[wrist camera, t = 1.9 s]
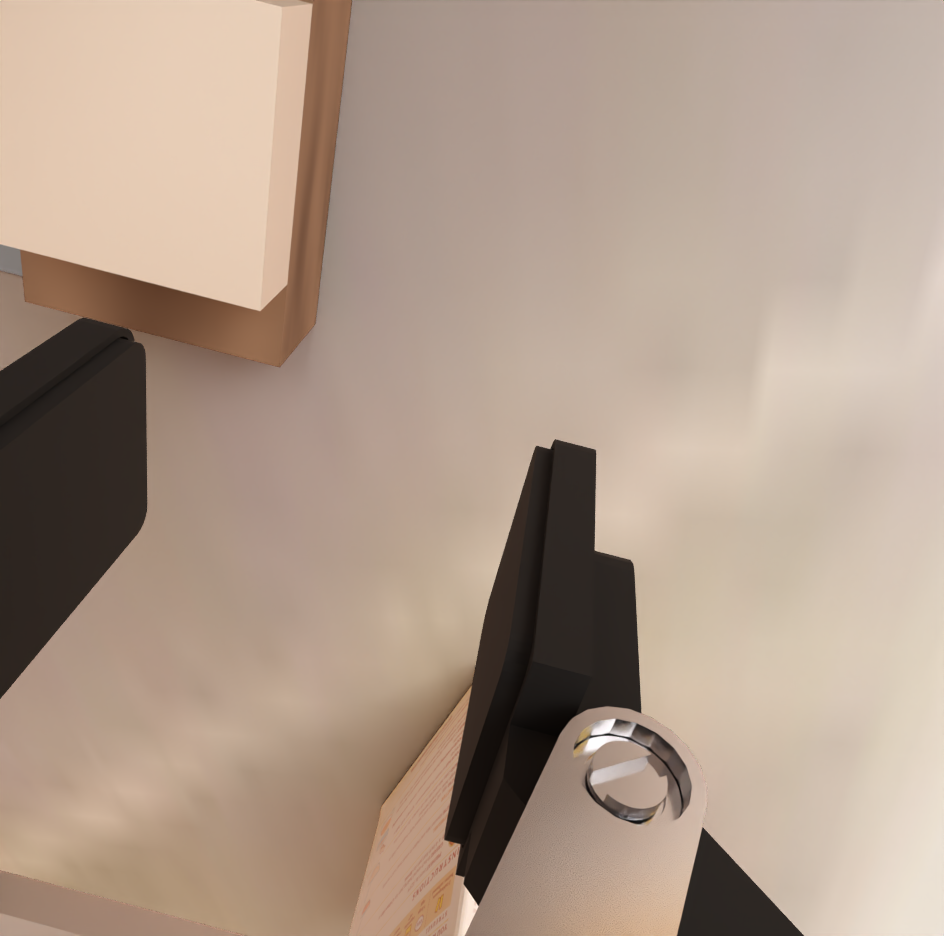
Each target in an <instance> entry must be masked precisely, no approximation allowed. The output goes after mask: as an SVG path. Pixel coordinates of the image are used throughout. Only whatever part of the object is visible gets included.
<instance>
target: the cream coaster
mask: <svg viewBox="0 0 944 936" xmlns="http://www.w3.org/2000/svg"><path fill="white" fill-rule="evenodd" d="M312 5H313V4H311V3H307V2H303V1H300V0H0V244H2V245H6V246H9V247H13V248H17V249H21V250H25V251H29V252H33V253H37V254H40V255H44V256H48V257H52V258H56V259H60V260H64V261H68V262H71V263H75V264H79V265H83V266H87V267H91V268H95V269H99V270H102V271H106V272H110V273H114V274H118V275H122V276H126V277H130V278H133V279H137V280H141V281H145V282H149V283H153V284H157V285H161V286H164V287H168V288H172V289H176V290H180V291H184V292H188V293H192V294H195V295H199V296H203V297H207V298H211V299H215V300H219V301H223V302H226V303H230V304H234V305H238V306H242V307H246V308H250V309H254V310H257V311H261V310H262V309H263V308H264V307H265V306H266V305H267V304H268V303H269V302H270V301H271V300H272V299H273V298H274V297H275V296H276V295H277V294H278V293H279V292H280V291H281V290H282V289H283V288H284V287H285V286H286V285H287V281H288V270H289V259H290V248H291V237H292V226H293V215H294V204H295V193H296V182H297V171H298V160H299V149H300V138H301V127H302V116H303V105H304V93H305V82H306V71H307V60H308V49H309V38H310V27H311V16H312Z"/></svg>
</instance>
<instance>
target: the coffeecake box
mask: <svg viewBox="0 0 944 936" xmlns="http://www.w3.org/2000/svg"><path fill="white" fill-rule="evenodd" d="M471 688H472V686H471V687H470V688H469V690H468V691H467V692H466V694H465V695H464V696H463V698H462V699H461V700H460V702H459V703H458V704H457V706H456V707H455V708H454V710H453V711H452V712H451V714H450V715H449V717H448V718H447V719H446V721H445V722H444V723H443V725H442V726H441V727H440V729H439V730H438V731H437V733H436V734H435V735H434V737H433V738H432V739H431V740H430V742H429V743H428V744H427V746H426V747H425V749H424V750H423V751H422V753H421V754H420V755H419V757H418V758H417V759H416V761H415V762H414V763H413V765H412V766H411V767H410V769H409V770H408V771H407V773H406V774H405V776H404V777H403V778H402V780H401V781H400V782H399V784H398V785H397V786H396V788H395V789H394V790H393V792H392V793H391V794H390V796H389V797H388V799H387V800H386V801H385V802H384V804H383V805H382V806H381V810H380V817H379V821H378V826H377V830H376V833H375V837H374V841H373V845H372V849H371V853H370V857H369V860H368V864H367V868H366V872H365V876H364V879H363V883H362V887H361V890H360V894H359V898H358V902H357V905H356V909H355V912H354V916H353V920H352V924H351V928H350V932H349V936H465V934H466V932H467V930H468V928H469V926H470V923H471V921H472V919H473V917H474V915H475V913H476V911H477V909H478V907H479V906H478V905H477V903H476V902H475V900H474V899H473V897H472V896H471V894H470V893H469V891H468V890H467V889H466V887H465V886H464V884H463V883H464V877H462V876H458V875H456V869H457V863H458V857H459V850H460V844H457V843H453V842H449V841H446V840H444V835H445V828H446V823H447V817H448V812H449V806H450V801H451V796H452V790H453V785H454V780H455V774H456V769H457V763H458V758H459V753H460V747H461V742H462V737H463V731H464V726H465V720H466V715H467V710H468V704H469V699H470V694H471Z"/></svg>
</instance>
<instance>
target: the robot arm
mask: <svg viewBox="0 0 944 936" xmlns="http://www.w3.org/2000/svg"><path fill="white" fill-rule="evenodd" d="M595 490H596V450H594V449H591V448H587V447H583V446H579V445H575V444H571V443H567V442H563V441H560V440H556V439H555V440H554V442H553V444H552V446H551V449H547V448H543V447H539V446H536V447H535V450H534V453H533V456H532V459H531V463H530V466H529V469H528V473H527V476H526V479H525V483H524V486H523V489H522V493H521V496H520V499H519V502H518V506H517V509H516V512H515V516H514V519H513V522H512V526H511V529H510V532H509V536H508V539H507V542H506V546H505V549H504V552H503V555H502V559H501V562H500V565H499V569H498V572H497V575H496V579H495V582H494V585H493V589H492V592H491V595H490V599H489V602H488V606H487V610H486V614H485V619H484V624H483V629H482V634H481V640H480V645H479V651H478V656H477V661H476V667H475V672H474V677H473V683H472V688H471V694H470V699H469V704H468V710H467V715H466V720H465V726H464V731H463V737H462V742H461V747H460V753H459V758H458V763H457V769H456V774H455V780H454V785H453V790H452V796H451V801H450V806H449V812H448V817H447V823H446V828H445V835H444V840H446V841H449V842H453V843H457V844H460V850H459V857H458V863H457V869H456V875H458V876H462V877H464V883H463V884H464V886H465V887H466V889H467V890H468V891H469V893H470V894H471V896H472V897H473V899H474V900H475V902H476V903H477V905H478V906H479V907H478V909H477V911H476V913H475V915H474V917H473V919H472V921H471V923H470V926H469V928H468V930H467V932H466V934H465V936H804V935H803V934H802V933H801V932H800V931H799V930H798V929H797V928H796V927H795V926H794V925H793V923H792V922H791V921H790V920H789V919H788V918H787V917H786V916H785V915H784V914H783V913H782V912H781V911H780V910H779V908H778V907H777V906H776V905H775V904H774V903H773V902H772V901H771V900H770V899H769V898H768V897H767V896H766V895H765V893H764V892H763V891H762V890H761V889H760V888H759V887H758V886H757V885H756V884H755V883H754V882H753V881H752V880H751V878H750V877H749V876H748V875H747V874H746V873H745V872H744V871H743V870H742V869H741V868H740V867H739V866H738V865H737V863H736V862H735V861H734V860H733V859H732V858H731V857H730V856H729V855H728V854H727V853H726V852H725V851H724V850H723V848H722V847H721V846H720V845H719V844H718V843H717V842H716V841H715V840H714V839H713V838H712V837H711V836H710V835H709V833H708V832H707V831H706V830H705V829H704V828H703V822H704V818H705V814H706V810H707V790H708V788H707V784H706V781H705V778H704V775H703V771H702V768H701V766H700V764H699V763H698V761H697V760H696V758H695V757H694V755H693V753H692V752H691V750H690V749H689V747H688V746H687V745H686V744H685V743H684V742H683V741H682V740H681V739H680V738H679V737H678V736H677V735H676V734H675V733H674V732H673V731H672V730H670V729H669V728H667V727H666V726H664V725H663V724H661V723H659V722H658V721H656V720H655V719H653V718H652V717H649V716H647V715H644V714H641V696H640V676H639V656H638V636H637V615H636V595H635V575H634V566H633V563H632V562H631V560H628V559H624V558H620V557H616V556H613V555H609V554H605V553H601V552H597V551H594V547H595ZM146 512H147V439H146V356H145V349H144V347H143V345H142V344H141V343H137V342H134V337H133V335H132V332H131V331H130V330H129V329H126V328H123V327H119V326H115V325H111V324H107V323H103V322H99V321H96V320H92V319H87V318H82V319H79V320H77V321H76V322H74V323H73V324H71V325H70V326H68V327H66V328H65V329H63V330H62V331H60V332H59V333H57V334H56V335H54V336H53V337H51V338H50V339H48V340H47V341H45V342H44V343H42V344H41V345H39V346H38V347H36V348H35V349H33V350H32V351H30V352H29V353H27V354H26V355H24V356H23V357H21V358H20V359H18V360H17V361H15V362H13V363H12V364H10V365H9V366H7V367H6V368H4V369H3V370H1V371H0V699H1V697H2V696H3V695H4V694H5V693H6V691H7V690H8V689H9V688H10V687H11V685H12V684H13V683H14V682H15V681H16V679H17V678H18V677H19V676H20V675H21V673H22V672H23V671H24V670H25V669H26V667H27V666H28V665H29V664H30V662H31V661H32V660H33V659H34V658H35V656H36V655H37V654H38V653H39V652H40V650H41V649H42V648H43V647H44V646H45V644H46V643H47V642H48V641H49V640H50V638H51V637H52V636H53V635H54V634H55V632H56V631H57V630H58V629H59V628H60V626H61V625H62V624H63V623H64V622H65V620H66V619H67V618H68V617H69V616H70V614H71V613H72V612H73V611H74V610H75V608H76V607H77V606H78V605H79V604H80V602H81V601H82V600H83V599H84V598H85V596H86V595H87V594H88V593H89V592H90V590H91V589H92V588H93V587H94V586H95V584H96V583H97V582H98V581H99V580H100V578H101V577H102V576H103V575H104V574H105V572H106V571H107V570H108V569H109V568H110V566H111V565H112V564H113V563H114V561H115V560H116V559H117V558H118V557H119V555H120V554H121V553H122V552H123V551H124V549H125V548H126V547H127V546H128V545H129V543H130V542H131V541H132V540H133V539H134V537H135V536H136V535H137V534H138V532H139V531H140V529H141V527H142V525H143V523H144V520H145V517H146ZM0 936H246V935H242V934H238V933H234V932H231V931H227V930H223V929H220V928H216V927H212V926H208V925H205V924H201V923H197V922H193V921H190V920H186V919H182V918H178V917H175V916H171V915H167V914H164V913H160V912H156V911H152V910H149V909H145V908H141V907H137V906H134V905H130V904H126V903H123V902H119V901H115V900H111V899H107V898H104V897H100V896H96V895H92V894H88V893H85V892H81V891H77V890H73V889H69V888H66V887H62V886H58V885H54V884H50V883H47V882H43V881H39V880H35V879H31V878H28V877H24V876H20V875H16V874H12V873H9V872H5V871H1V870H0Z"/></svg>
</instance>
